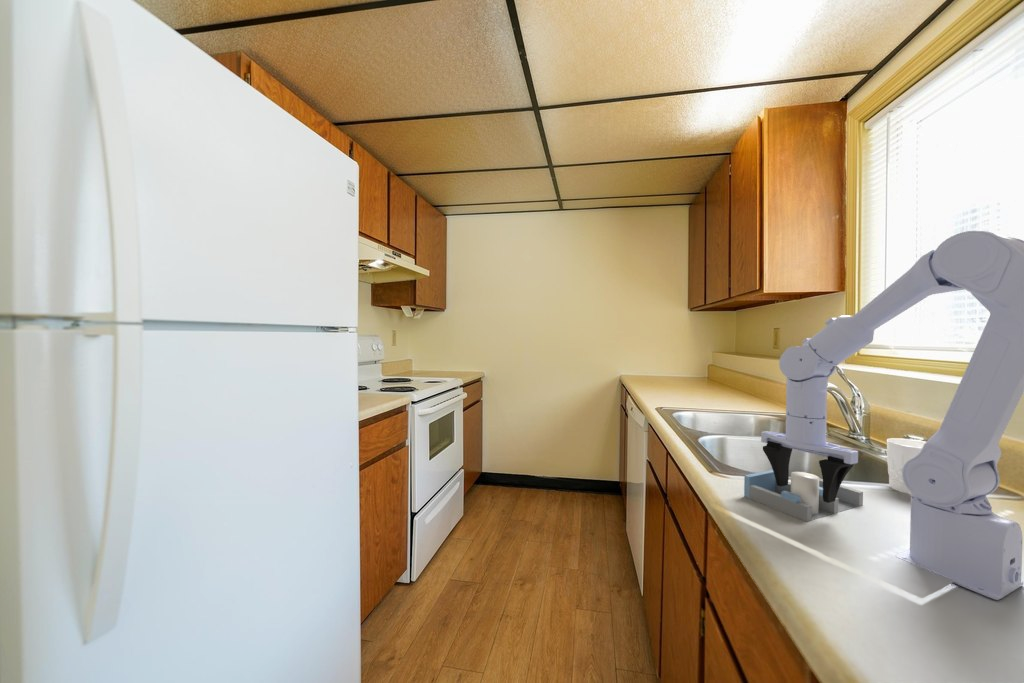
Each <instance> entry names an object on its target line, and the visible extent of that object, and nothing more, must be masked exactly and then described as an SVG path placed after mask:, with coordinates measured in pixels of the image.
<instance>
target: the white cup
mask: <svg viewBox="0 0 1024 683" xmlns="http://www.w3.org/2000/svg"><path fill="white" fill-rule="evenodd" d="M926 442H927V441H923V440H918V439H911V438H900V437H899V438H897V437H892V438H891V437H890V438H887V439H886V454H887V455H886V456H887V457H886V458H887V462H886V463H887V473H888V487H889V488H891V489H892V490H895V491H898V493H899V492H900V493H903V494H908V495H910V496H911V491H910V490H909V489H908V488H907V486H906V485H905V483H904V481H903V477H902V471H903V467H904V465H905V464H906V462H908V461H909V460H910V459H912V458H914V457H916V456H917V455H918V454H919V453H920V452H921V450H922V448H923V446H924V444H925V443H926Z"/></svg>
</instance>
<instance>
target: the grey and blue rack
mask: <svg viewBox="0 0 1024 683" xmlns="http://www.w3.org/2000/svg"><path fill="white" fill-rule="evenodd" d="M743 477H744V478H743V480H744V482H743V483H744V484H743V485H744V486H743V487H744V488H743V491H744V492H743V497H744V498H745V499H746V498H747V499H749V500H752V501H754V502H757V503H759V504H761V505H764V506H766V507H769V508H771V509H774V510H777V511H779V512H781V513H784V514H786V515H789V516H792V517H794V518H796V519H799V520H801V521H804V522H806V523H808V522H812V521H814V520H815V521H816V520H818V519H822V518H824V517H828V516H831V515H836V514H838V513H841V512H844V511H848V510H851V509H854V508H855V509H856V508H857V507H861V506H864V501H863V500H864V491H861V490H858V489H856V488H852V487H848V486H846V485H842V484H841V485H840V487H839V490H838V492H837V496H836V499H835V501H834V502H830V503H827V502H824V501H823V478H819V513H818V514H816V515H812V506H811V505H808V504H805V503H802V502H800V496H799V495H797V494H794V493H791V481H788V485H785V486H781V487H780V486H777V483H776V479H775V475H774V472H773V469H770V470H769V469H768V470H765V471H760V472H754V473H750V474H746V475H744V476H743Z"/></svg>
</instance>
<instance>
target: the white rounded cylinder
mask: <svg viewBox="0 0 1024 683" xmlns="http://www.w3.org/2000/svg"><path fill="white" fill-rule="evenodd" d="M819 479H820V477H819V476H817V475H816V474H814V473H809V472H808V473H807V472H805V471H792V472H790V483H791V493H794V494H797V495H799V496H800V502H802V503H805V504H808V505H811V506H812V515H816V514H818V513H819Z"/></svg>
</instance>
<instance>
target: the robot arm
mask: <svg viewBox="0 0 1024 683" xmlns="http://www.w3.org/2000/svg"><path fill="white" fill-rule="evenodd" d="M964 290H965V291H967V292H969V293H970V294H971V295H972V297H974V298H975V299H976V300H977V301H978V302H979V303H980V304H981V305H982V306H983V308H985V309H986V310H987V311H988V312H989V317H988V319H987V322H986V324H985V326H984V328H983V331H982V333H981V335H980V338H979V340H978V341H977V344H976V346H975V348H974V350H973V353H972V355H971V357H970V359H969V362H968V364H967V366H966V368H965V370H964V372H963V374H962V375H963V376H962V378H961V380H960V382H959V383H958V384H959V385H958V386H957V389H956V391H955V394H954V396H953V398H952V399H951V402H950V404H949V407H948V409H947V411H946V413H945V416H944V418H943V421H942V422H941V425H940V426H939V429H938V430H936V432H935V433H934V434H933V435H932V436H930V437H929V438H928V439H927V441H925V442H926V443H925V444H924V446H923V448H922V450H921V452H920V453H919V454H918V455H917V456H916V457H914V458H912V459H910V460H909V461H908V462H906V464H905V465H904V467H903V471H902V477H903V481H904V483H905V485H906V486H907V488H908V489H909V490H910V491H911V495H910V522H909V523H910V524H909V525H910V526H909V549H908V550H905V551H903V552H900V553H897V554H896V555H895V558H897V559H900V560H902V561H905V562H907V563H910V564H912V565H914V566H917V567H919V568H922V569H924V570H927V571H930V572H931V573H935V574H937V575H939V576H942V577H944V578H947V579H949V580H952V581H953V582H952V583H953V584H956V585H958V586H961V587H963V588H964V589H967V590H970V591H971V592H972V591H973V592H975V593H978V594H979V595H983V596H985V597H987V598H990V599H992V600H996V601H998V600H1001V599H1003V598H1005V597H1006V596H1008V595H1009V594H1011V593H1012V592H1014V591H1015V590H1017V589H1018V588H1020V587H1022V586H1023V585H1024V581H1023V580H1022V566H1023V564H1022V563H1023V530H1022V527H1021V524H1019V523H1018V522H1017V521H1014V520H1011V519H1009V518H1005V517H1003V516H1001V515H998V514H996V513H994V512H993V510H992V509H993V507H992V505H991V503H990V501H989V499H988V497H987V496H988V495H990V494H993V493H994V492H995V491H996V490H997V489H998V487H999V486H1000V481H1001V478H1000V473H999V470H998V463H999V460H1000V458H1001V456H1002V450H1001V448H1000V445H999V443H1000V440H1001V439H1002V438H1003V435H1004V433H1005V431H1006V428H1007V426H1008V425H1009V423H1010V420H1011V419H1012V417H1013V415H1014V412H1015V410H1016V408H1017V406H1018V405H1019V402H1020V401H1021V398H1022V397H1023V394H1024V240H1022V239H1020V238H1015V237H1009V236H1008V237H1007V236H1002V235H998V234H995V233H994V232H990V231H986V230H977V229H976V230H975V229H974V230H968V231H963V232H960V233H956V234H954V235H952V236H949V237H948V238H946V239H945V240H943V241H942V242H941V243H940V244H939V245H938V246H937V248H936V249H935V250H934V249H932V250H929V251H928V252H926V253H924V255H921V256H920V258H919V259H918V260H917V261H916V262H915V263H914V264H913V266H912V267H911V268H909V269H908V270H907V271H906V272H905V273H903V274H902V275H901V276H900V277H899V278H897V279H896V280H895V281H894V282H893V283H891V284H890V285H889V286H888V287H886V288H885V289H884V290H883V291H882V292H880V293H879V294H878V295H877V296H876V297H875V298H873V299H871V301H869V303H867V304H866V305H865V306H863V307H862V308H860V310H858V312H856V313H855V314H854V315H846V314H845V315H844V314H842V315H840V316H837V317H830V318H829V319H827V320H826V321H825V322H824V323H825V325H826V326H825V327H823V328H822V329H821V330H820V331H818V332H817V333H815V334H814V335H813V336H811V337H806V338H805V339H803V340H802V344H801V346H798V345H795V346H794V345H793V346H790V347H787V348H786V349H785V351H784V352H783V353H782V354H781V355H780V357H779V361H778V364H779V370H780V371H781V373H782V374H783V375H784V376H785V377H786V387H785V393H786V394H785V398H786V401H785V403H786V404H785V433H781V432H776V431H775V432H774V431H769V430H765V431H761V434H760V436H761V439H760V442H761V443H764V444H766V445H764V446H762V452H764V455H765V456H766V457H767V459H768V462H769V464H770V466H771V470H773V472H774V475H775V479H776V483H777V486H780V487H781V486H785V485H788V482H789V472H790V469H789V468H790V467H789V466H790V460H791V457H792V456H791V455H792V453H793V452H792V451H793V450H797V451H801V452H805V453H808V454H813V455H816V456H821V457H825V458H826V459H820V460H819V461H818V465H819V467H820V472H821V477H822V478H821V479H822V480H823V501H824V502H827V503H830V502H834V501H835V499H836V496H837V492H838V490H839V487H840V485H842V482H843V481H844V479H845V478H846V476H847V474H848V473H849V472H850V470H852V468H853V467H854V465H855V464H859V451H858V450H854V449H851V448H848V447H843V446H842V445H841V446H840V445H837V444H834V443H831V442H827V419H828V417H827V411H828V410H827V409H828V408H827V407H828V406H827V404H828V403H827V402H828V387H829V386H828V385H829V384H828V383H829V382H828V381H829V378H830V377H832V375H833V374H834V373H835V371H836V368H837V366H839V365H840V364H841V363H843V362H844V361H846V360H847V359H849V358H850V357H852V356H853V355H855V354H857V353H859V351H861V350H862V349H864V348H865V347H866V346H868V345H870V344H871V343H872V342H873V340H874V335H875V331H876V330H877V329H878V328H880V327H882V326H883V325H884V324H886V323H888V322H890V321H891V320H893V319H894V318H896V317H897V316H899V315H900V314H903V313H905V311H907V310H909V309H910V308H912V307H913V306H915V305H917V304H918V303H919V302H921V301H923V300H924V299H926V298H928V297H929V296H932V295H936V294H937V295H939V294H943V293H944V294H945V293H951V292H957V291H964Z"/></svg>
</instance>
